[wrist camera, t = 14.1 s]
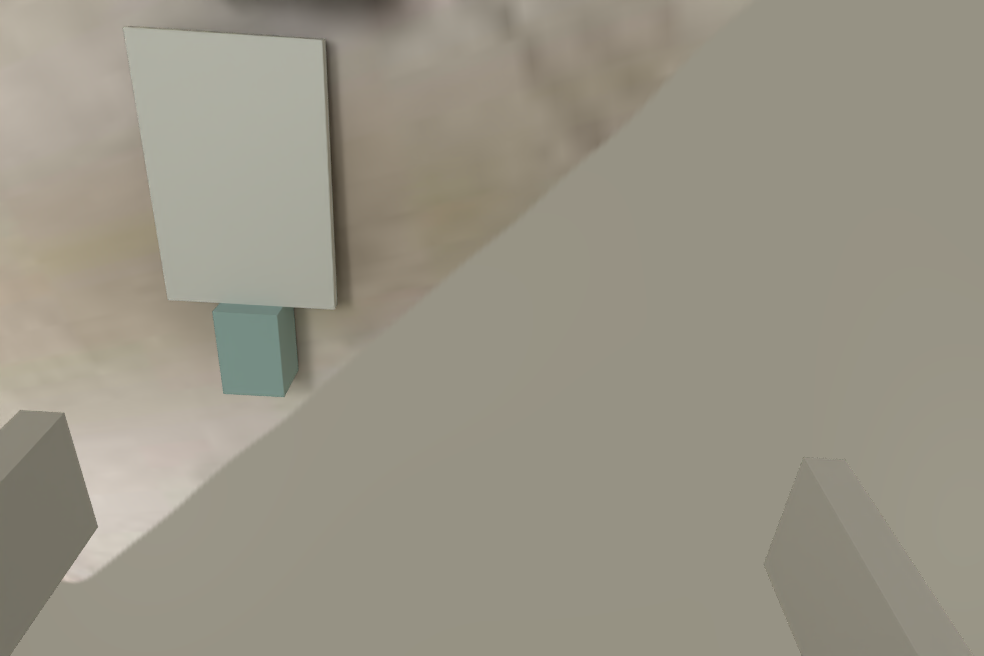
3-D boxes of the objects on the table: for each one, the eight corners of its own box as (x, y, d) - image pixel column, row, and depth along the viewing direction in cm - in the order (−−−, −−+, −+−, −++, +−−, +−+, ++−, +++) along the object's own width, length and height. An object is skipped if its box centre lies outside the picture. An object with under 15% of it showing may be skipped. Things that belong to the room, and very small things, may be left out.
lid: (142, 24, 39) (110, 28, 36) (331, 36, 39) (316, 41, 36) (194, 363, 49) (173, 390, 46) (345, 372, 49) (334, 399, 46)
